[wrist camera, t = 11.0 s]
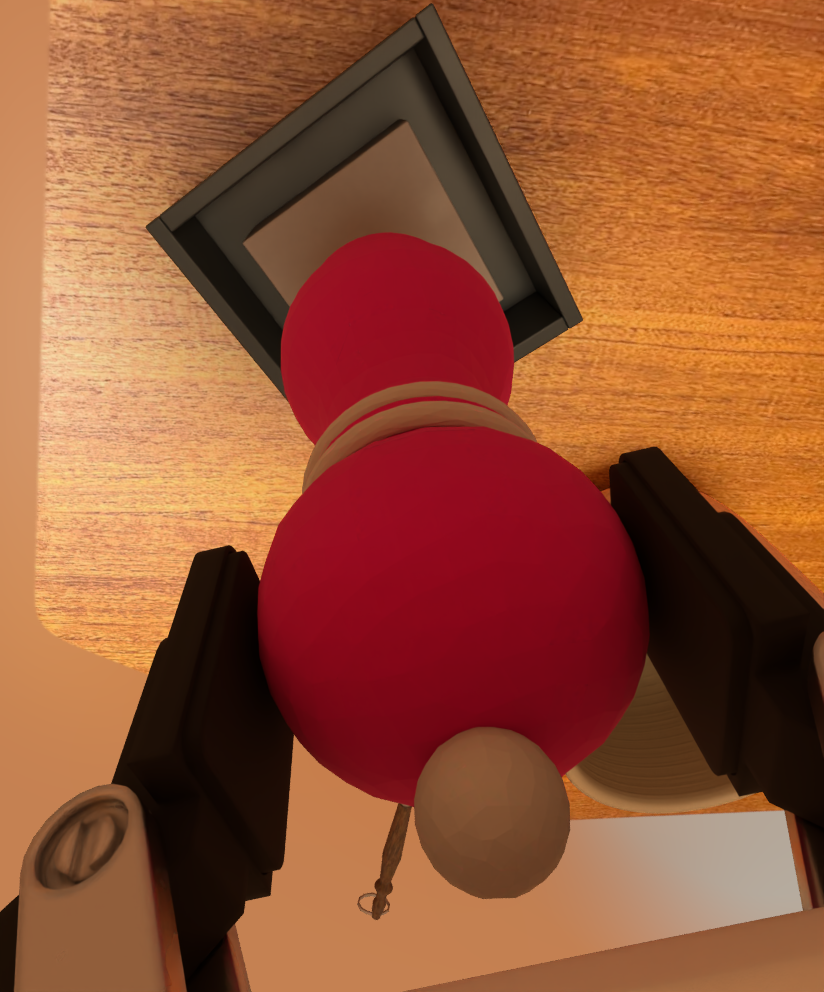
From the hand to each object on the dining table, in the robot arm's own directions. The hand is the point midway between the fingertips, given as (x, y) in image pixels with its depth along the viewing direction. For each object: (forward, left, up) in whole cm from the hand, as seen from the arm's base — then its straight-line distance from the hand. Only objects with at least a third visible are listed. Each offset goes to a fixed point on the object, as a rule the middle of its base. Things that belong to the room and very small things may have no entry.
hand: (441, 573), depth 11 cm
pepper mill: (0, 0, -15) cm, 15 cm away
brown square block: (0, 0, -27) cm, 27 cm away
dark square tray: (0, 0, -27) cm, 27 cm away
